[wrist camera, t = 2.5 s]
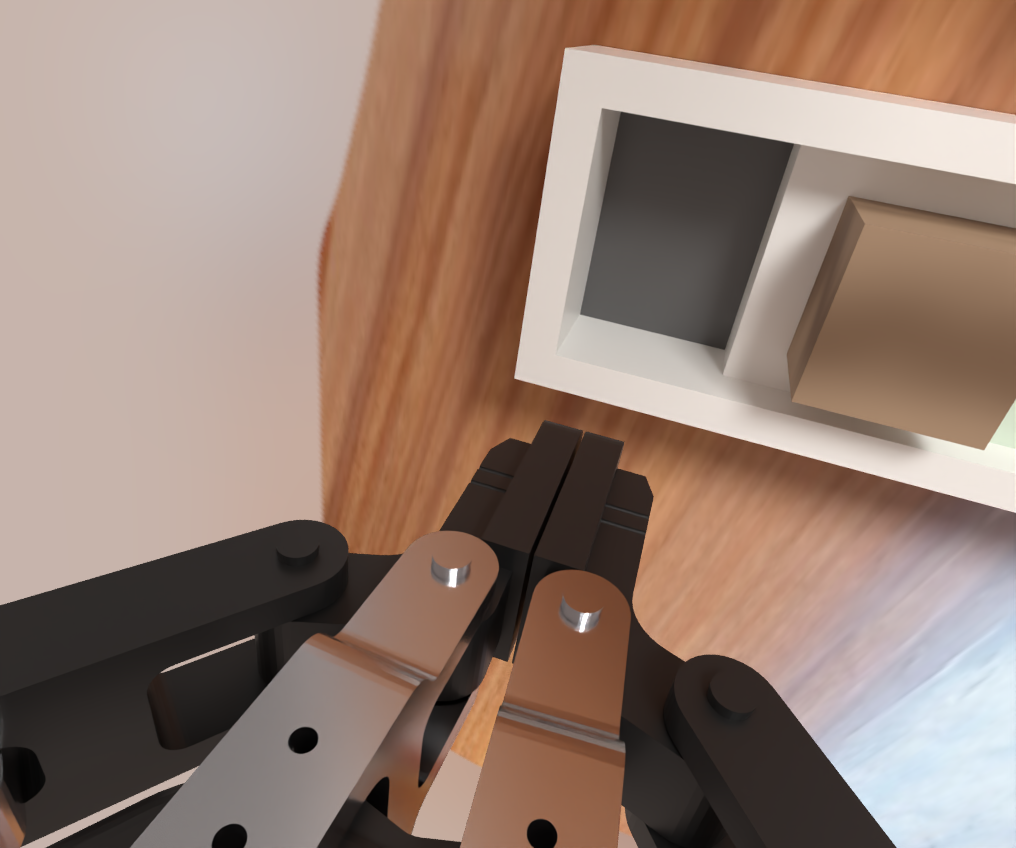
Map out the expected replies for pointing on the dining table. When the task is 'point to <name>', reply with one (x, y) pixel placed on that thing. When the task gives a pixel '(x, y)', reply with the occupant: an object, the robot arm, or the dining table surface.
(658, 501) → the dining table surface
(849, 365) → the walnut block
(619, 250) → the tray
